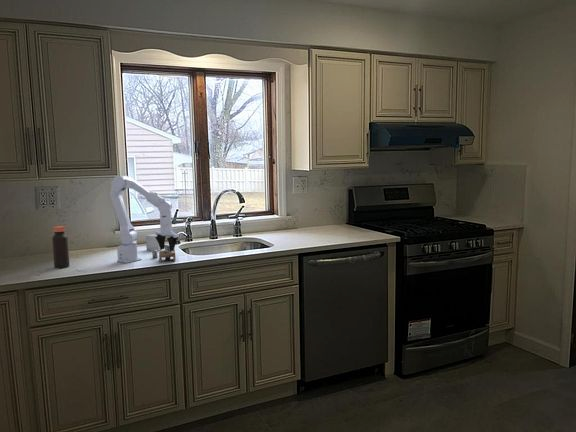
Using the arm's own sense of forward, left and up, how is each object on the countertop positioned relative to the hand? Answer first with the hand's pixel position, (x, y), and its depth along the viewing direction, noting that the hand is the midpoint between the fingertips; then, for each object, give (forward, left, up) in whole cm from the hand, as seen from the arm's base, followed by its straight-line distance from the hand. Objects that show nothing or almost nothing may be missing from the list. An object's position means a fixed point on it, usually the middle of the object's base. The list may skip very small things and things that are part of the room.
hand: (167, 250), depth 244 cm
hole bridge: (0, 0, -5) cm, 5 cm away
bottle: (-39, +32, -6) cm, 51 cm away
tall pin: (0, 0, -5) cm, 5 cm away
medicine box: (+14, +28, -6) cm, 32 cm away
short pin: (0, +10, -5) cm, 11 cm away
